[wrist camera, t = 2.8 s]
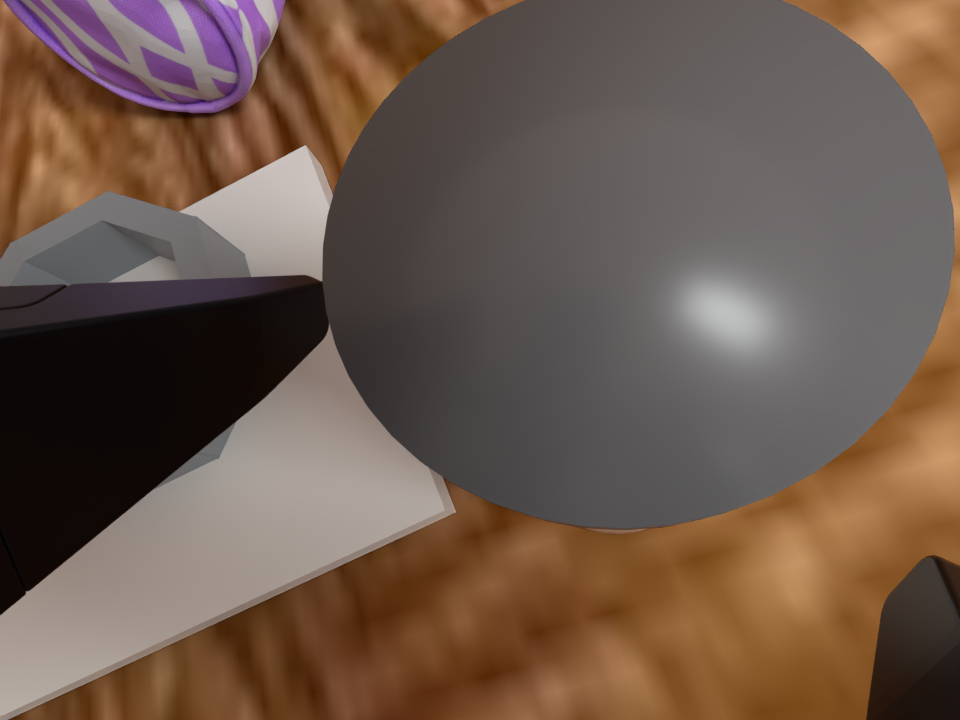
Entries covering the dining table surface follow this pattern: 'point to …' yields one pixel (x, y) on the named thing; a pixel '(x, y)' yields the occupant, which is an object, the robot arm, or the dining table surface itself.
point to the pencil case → (160, 46)
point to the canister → (638, 256)
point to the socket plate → (236, 504)
